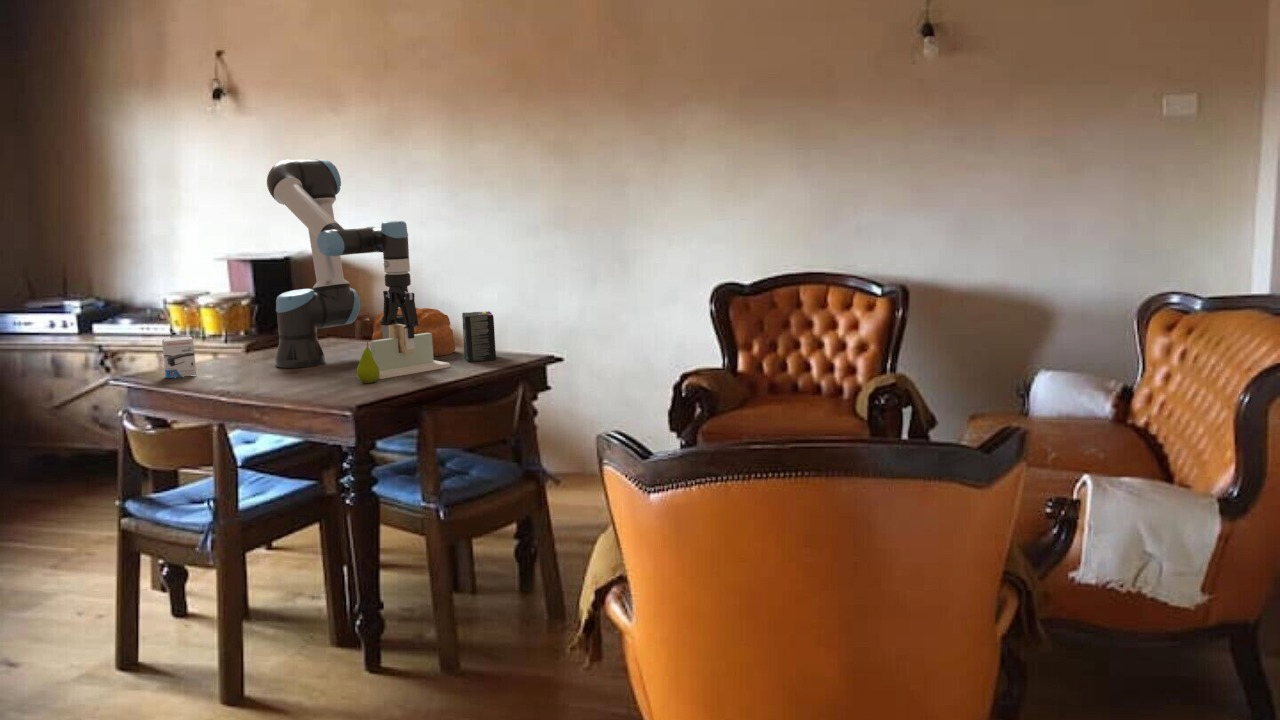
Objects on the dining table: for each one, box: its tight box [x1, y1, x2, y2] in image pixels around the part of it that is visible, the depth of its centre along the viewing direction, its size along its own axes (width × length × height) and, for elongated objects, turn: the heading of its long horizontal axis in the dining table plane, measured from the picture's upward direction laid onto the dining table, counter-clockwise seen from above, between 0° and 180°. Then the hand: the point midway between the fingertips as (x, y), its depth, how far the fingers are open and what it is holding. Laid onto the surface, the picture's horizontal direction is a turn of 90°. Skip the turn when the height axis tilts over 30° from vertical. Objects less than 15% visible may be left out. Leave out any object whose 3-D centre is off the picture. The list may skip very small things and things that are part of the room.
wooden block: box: [390, 324, 414, 354], centre depth 333 cm, size 8×3×8 cm, turn 43°
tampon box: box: [461, 311, 497, 363], centre depth 351 cm, size 11×9×15 cm
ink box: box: [161, 336, 197, 379], centre depth 334 cm, size 8×5×12 cm, turn 117°
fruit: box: [356, 340, 380, 384], centre depth 316 cm, size 6×6×12 cm
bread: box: [371, 307, 456, 357], centre depth 364 cm, size 14×26×16 cm, turn 74°
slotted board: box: [369, 333, 451, 380], centre depth 334 cm, size 14×24×10 cm, turn 134°
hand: (402, 347), depth 334 cm, fingers open, 8 cm apart
